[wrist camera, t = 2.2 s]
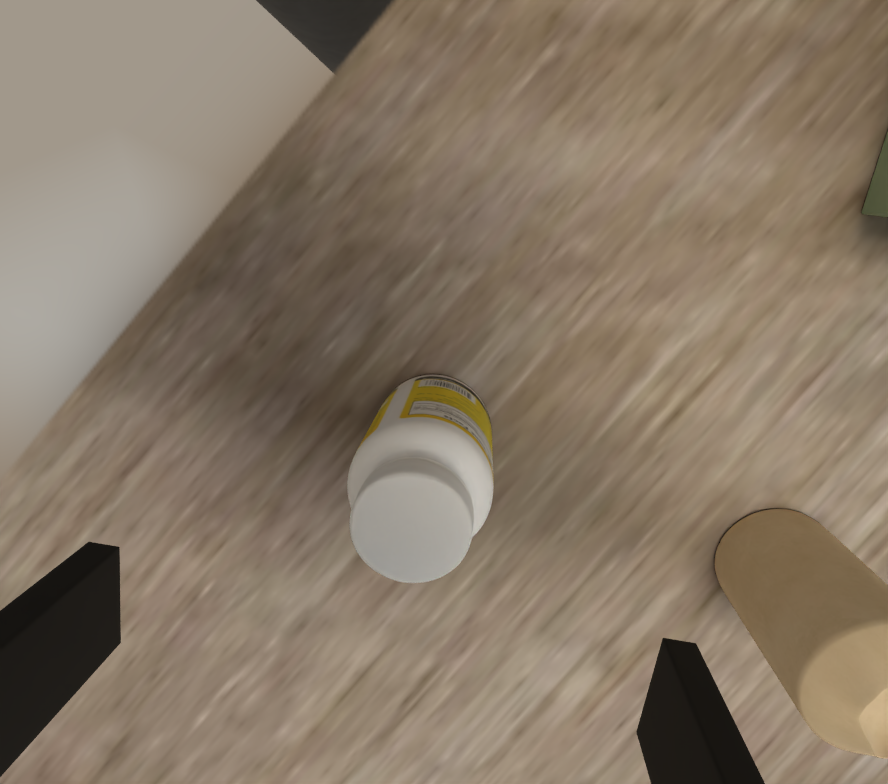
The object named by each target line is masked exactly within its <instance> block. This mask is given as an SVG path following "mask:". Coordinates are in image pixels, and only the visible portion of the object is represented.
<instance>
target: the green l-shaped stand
mask: <svg viewBox="0 0 888 784" xmlns="http://www.w3.org/2000/svg"><path fill="white" fill-rule="evenodd" d="M861 213H862V214H866V215H873V216H880V217H887V218H888V132H887V135H886V138H885V141H884V144H883V147H882V150H881V153H880V156H879V160H878V163H877V166H876V169H875V172H874V175H873V178H872V181H871V184H870V188H869V191H868V194H867V197H866V200H865V203H864V206H863V209H862V212H861Z"/></svg>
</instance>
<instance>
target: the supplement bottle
mask: <svg viewBox="0 0 888 784" xmlns="http://www.w3.org/2000/svg"><path fill="white" fill-rule="evenodd" d="M493 485H494V482H493V453H492V431H491V423H490V418H489V415H488V412H487V409H486V407H485V405H484V404H483V402H482V400H481V399H480V397H479V396H478V395H477V394H476V393H475V392H474V391H473V390H472V389H471V388H470V387H468V386H467V385H466V384H464V383H462V382H460V381H459V380H456V379H454V378H451V377H448V376H443V375H423V376H418V377H415V378H412V379H410V380H407V381H405V382H404V383H402V384H401V385H399V386H398V387H397V388H395V389H394V390H393V391H392V392H391V393H390V394H389V396H388V397H387V398H386V400H385V401H384V403H383V404H382V406H381V408H380V409H379V411H378V413H377V415H376V417H375V419H374V420H373V422H372V424H371V426H370V428H369V429H368V431H367V433H366V435H365V437H364V439H363V440H362V442H361V444H360V446H359V447H358V449H357V451H356V453H355V456H354V458H353V460H352V463H351V466H350V470H349V473H348V482H347V490H348V498H349V502H350V506H351V509H352V510H351V514H350V523H349V524H350V535H351V539H352V542H353V545H354V547H355V549H356V551H357V552H358V554H359V555H360V557H361V558H362V560H363V561H364V562H365V563H366V564H367V565H368V566H369V567H370V568H372V569H373V570H374V571H376V572H377V573H379V574H381V575H382V576H385V577H387V578H389V579H392V580H395V581H399V582H405V583H422V582H428V581H432V580H435V579H438V578H440V577H442V576H444V575H446V574H448V573H449V572H451V571H452V570H453V569H455V568H456V567H457V566H458V565H459V563H460V562H461V561H462V560H463V558H464V557H465V555H466V553H467V551H468V549H469V547H470V543H471V539H472V537H473V536H474V535H475V534H476V533H477V532H478V531H479V530H480V528H481V527H482V525H483V524H484V522H485V520H486V518H487V516H488V514H489V511H490V508H491V504H492V498H493Z"/></svg>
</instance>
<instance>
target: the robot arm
mask: <svg viewBox="0 0 888 784" xmlns="http://www.w3.org/2000/svg"><path fill="white" fill-rule="evenodd" d="M120 643H121V634H120V556H119V547H116V546H110V545H104V544H98V543H92V542H88V543H87V544H85V545H84V546H83V547H82V548H80V549H79V550H78V551H76V552H75V553H74V554H73V555H71V556H70V557H69V558H67V559H66V560H65V561H64V562H62V563H61V564H60V565H58V566H57V567H56V568H55V569H53V570H52V571H51V572H49V573H48V574H47V575H46V576H44V577H43V578H42V579H40V580H39V581H38V582H37V583H35V584H34V585H33V586H31V587H30V588H29V589H28V590H26V591H25V592H24V593H22V594H21V595H20V596H19V597H17V598H16V599H15V600H13V601H12V602H11V603H10V604H8V605H7V606H6V607H5V608H3V609H2V610H1V611H0V777H1V776H2V774H3V773H4V772H5V771H6V770H7V769H8V768H9V767H10V766H11V764H12V763H13V762H14V761H15V760H16V759H17V758H18V757H19V756H20V754H21V753H22V752H23V751H24V750H25V749H26V748H27V747H28V745H29V744H30V743H31V742H32V741H33V740H34V739H35V738H36V737H37V735H38V734H39V733H40V732H41V731H42V730H43V729H44V728H45V726H46V725H47V724H48V723H49V722H50V721H51V720H52V719H53V718H54V716H55V715H56V714H57V713H58V712H59V711H60V710H61V709H62V708H63V706H64V705H65V704H66V703H67V702H68V701H69V700H70V699H71V697H72V696H73V695H74V694H75V693H76V692H77V691H78V690H79V689H80V687H81V686H82V685H83V684H84V683H85V682H86V681H87V680H88V678H89V677H90V676H91V675H92V674H93V673H94V672H95V671H96V670H97V668H98V667H99V666H100V665H101V664H102V663H103V662H104V661H105V659H106V658H107V657H108V656H109V655H110V654H111V653H112V652H113V651H114V649H115V648H116V647H117V646H118V645H119V644H120ZM637 736H638V739H639V743H640V746H641V749H642V753H643V756H644V760H645V763H646V767H647V770H648V774H649V777H650V781H651V784H765V783H764V781H763V779H762V777H761V775H760V773H759V771H758V769H757V767H756V765H755V763H754V761H753V759H752V757H751V755H750V752H749V750H748V748H747V746H746V744H745V742H744V740H743V738H742V736H741V734H740V732H739V730H738V728H737V726H736V724H735V722H734V720H733V718H732V716H731V714H730V712H729V710H728V708H727V706H726V704H725V702H724V700H723V698H722V696H721V694H720V691H719V689H718V687H717V685H716V683H715V681H714V679H713V677H712V675H711V673H710V671H709V669H708V667H707V665H706V663H705V661H704V659H703V657H702V655H701V653H700V651H699V649H698V647H697V645H696V643H690V642H684V641H678V640H672V639H666V638H663V640H662V643H661V647H660V650H659V654H658V657H657V661H656V665H655V668H654V672H653V675H652V679H651V682H650V686H649V689H648V693H647V697H646V700H645V704H644V707H643V711H642V714H641V718H640V721H639V725H638V729H637Z"/></svg>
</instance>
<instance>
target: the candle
mask: <svg viewBox="0 0 888 784" xmlns="http://www.w3.org/2000/svg"><path fill="white" fill-rule="evenodd" d="M715 572H716V575H717V578H718V581H719V584H720V586H721V588H722V589H723V591H724V593H725V594H726V596H727V598H728V599H729V601H730V603H731V604H732V606H733V607H734V609H735V611H736V612H737V614H738V615H739V617H740V619H741V620H742V622H743V623H744V625H745V626H746V628H747V630H748V631H749V633H750V634H751V636H752V638H753V639H754V641H755V642H756V644H757V646H758V647H759V649H760V650H761V652H762V653H763V655H764V657H765V658H766V660H767V661H768V663H769V665H770V666H771V668H772V669H773V671H774V672H775V674H776V676H777V677H778V679H779V680H780V682H781V684H782V685H783V687H784V688H785V690H786V692H787V693H788V695H789V696H790V698H791V699H792V701H793V703H794V704H795V706H796V707H797V709H798V711H799V712H800V714H801V715H802V717H803V718H804V720H805V722H806V723H807V724H808V726H809V727H810V729H811V730H812V731H813V732H814V733H815V734H816V735H817V736H818V737H820V738H821V739H822V740H824V741H825V742H827V743H829V744H830V745H832V746H835V747H837V748H839V749H842V750H846V751H849V752H854V753H859V754H864V755H871V756H875V757H878V758H888V585H887V584H886V583H885V582H884V581H883V580H882V579H880V578H879V577H878V576H877V575H876V574H875V573H874V572H873V571H872V570H871V569H869V568H868V567H867V566H866V565H865V564H864V563H863V562H862V561H861V560H860V559H859V558H857V557H856V556H855V555H854V554H853V553H852V552H851V551H850V550H849V549H848V548H847V547H845V546H844V545H843V544H842V543H841V542H840V541H839V540H838V539H837V538H836V537H835V536H833V535H832V534H831V533H830V532H829V531H828V530H826V529H825V528H824V527H823V526H822V525H821V524H819V523H818V522H817V521H815V520H814V519H812V518H810V517H809V516H807V515H804V514H802V513H800V512H796V511H793V510H787V509H770V510H764V511H760V512H757V513H754V514H752V515H749V516H747V517H745V518H743V519H742V520H740V521H739V522H737V523H736V524H735V525H734V526H732V527H731V528H730V529H729V530H728V531H727V533H726V534H725V535H724V537H723V538H722V539H721V541H720V543H719V545H718V548H717V551H716V555H715Z"/></svg>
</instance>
